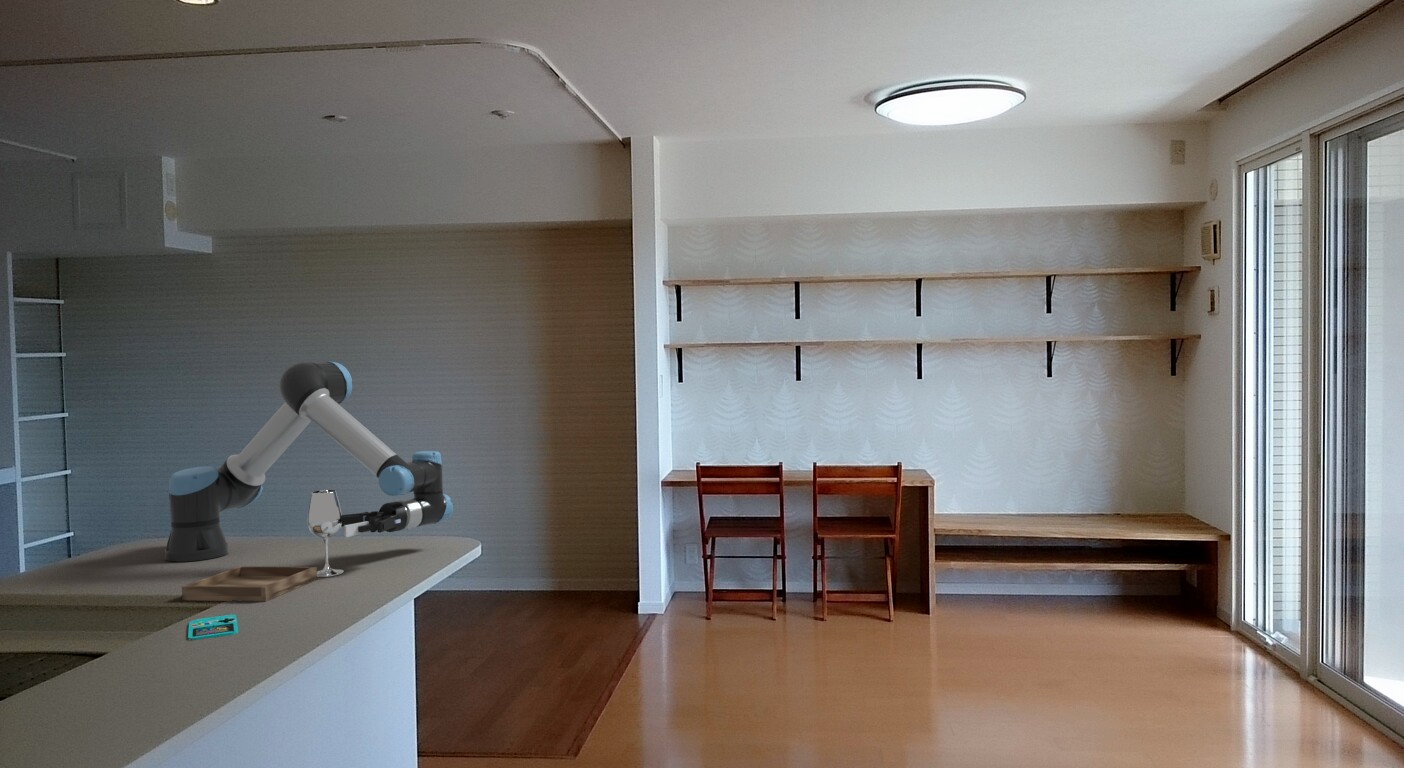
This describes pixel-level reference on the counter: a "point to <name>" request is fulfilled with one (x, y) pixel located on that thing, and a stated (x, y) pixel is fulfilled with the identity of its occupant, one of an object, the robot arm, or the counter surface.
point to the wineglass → (325, 522)
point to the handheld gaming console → (213, 626)
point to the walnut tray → (249, 583)
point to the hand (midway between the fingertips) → (327, 529)
